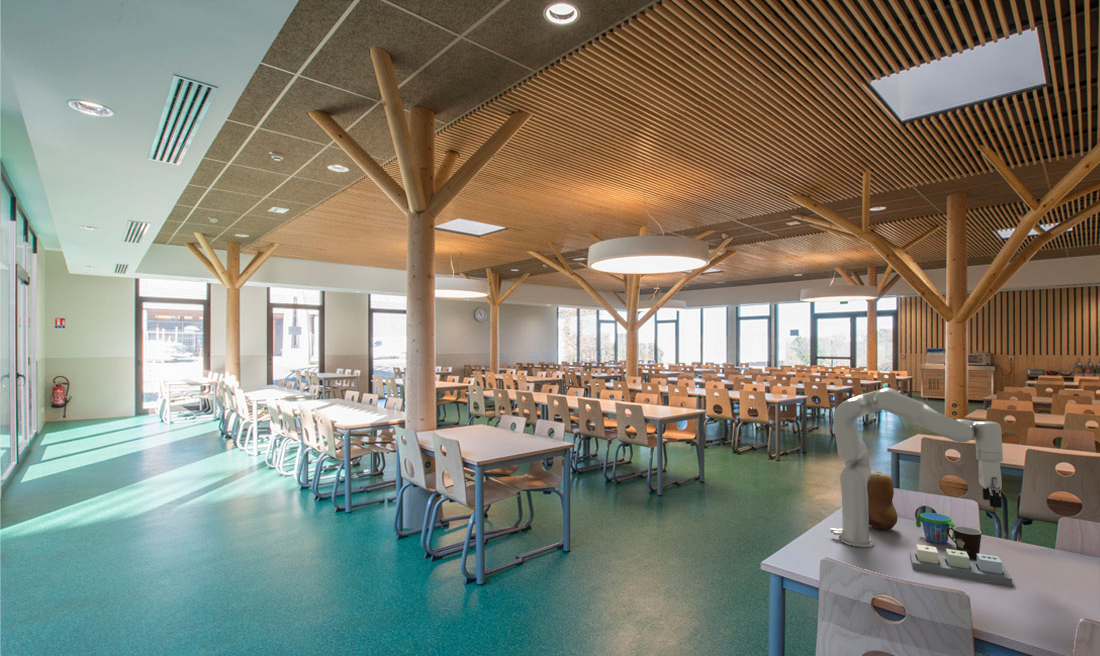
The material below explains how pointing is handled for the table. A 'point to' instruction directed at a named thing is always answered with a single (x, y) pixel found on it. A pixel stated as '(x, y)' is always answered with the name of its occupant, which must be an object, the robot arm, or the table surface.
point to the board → (960, 570)
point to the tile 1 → (927, 554)
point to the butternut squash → (881, 501)
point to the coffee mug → (967, 540)
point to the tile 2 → (989, 563)
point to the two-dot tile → (957, 558)
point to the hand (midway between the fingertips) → (992, 503)
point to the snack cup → (935, 527)
